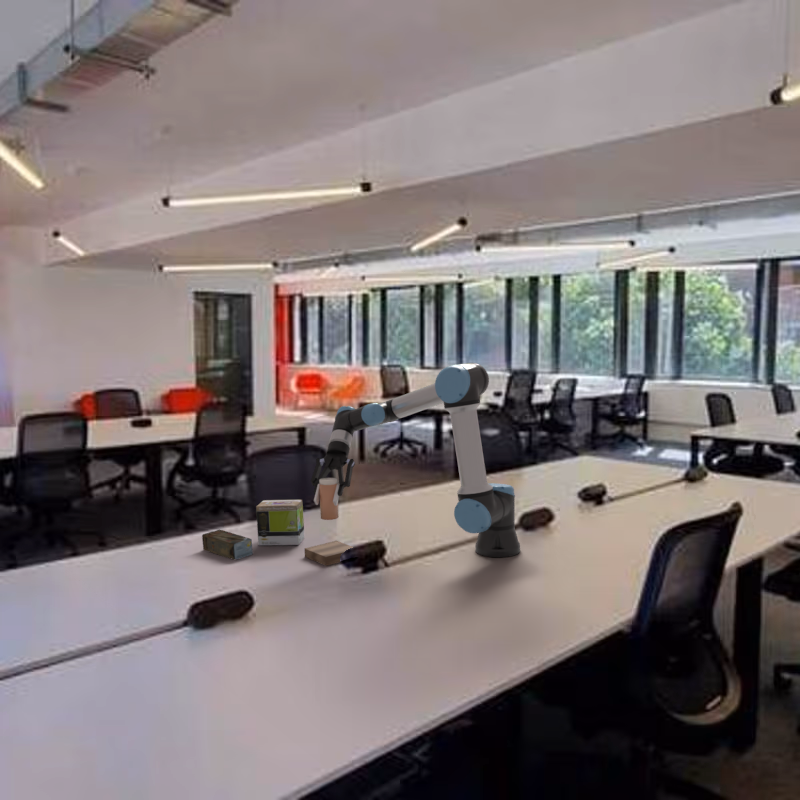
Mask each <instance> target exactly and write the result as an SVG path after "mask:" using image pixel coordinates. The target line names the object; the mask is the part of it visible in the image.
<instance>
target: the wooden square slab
mask: <svg viewBox="0 0 800 800" xmlns="http://www.w3.org/2000/svg"><path fill="white" fill-rule="evenodd" d="M353 547H354V546H352V545H350V544H347V543H344V542H340V541H339V540H334V541H329V542H325V543H321V544H317V545H313V546H308V547H305V548H304V558H306V559H308V560H311V561H313V562H316V563H318V564H321V565H323V566H330V565H334V564H339V563H341V562H340V556H341V554H342V553H344V552H345V551H346V550H348V549H350V548H353Z"/></svg>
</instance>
